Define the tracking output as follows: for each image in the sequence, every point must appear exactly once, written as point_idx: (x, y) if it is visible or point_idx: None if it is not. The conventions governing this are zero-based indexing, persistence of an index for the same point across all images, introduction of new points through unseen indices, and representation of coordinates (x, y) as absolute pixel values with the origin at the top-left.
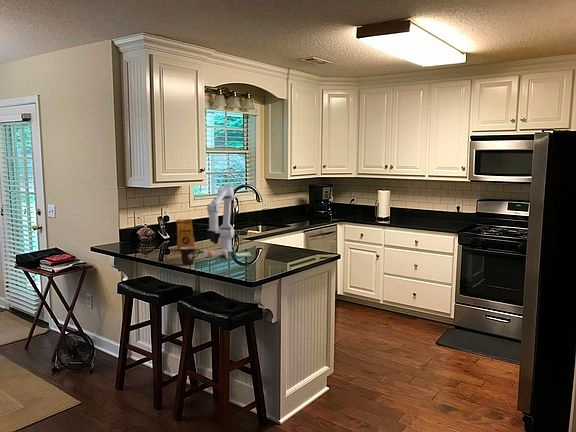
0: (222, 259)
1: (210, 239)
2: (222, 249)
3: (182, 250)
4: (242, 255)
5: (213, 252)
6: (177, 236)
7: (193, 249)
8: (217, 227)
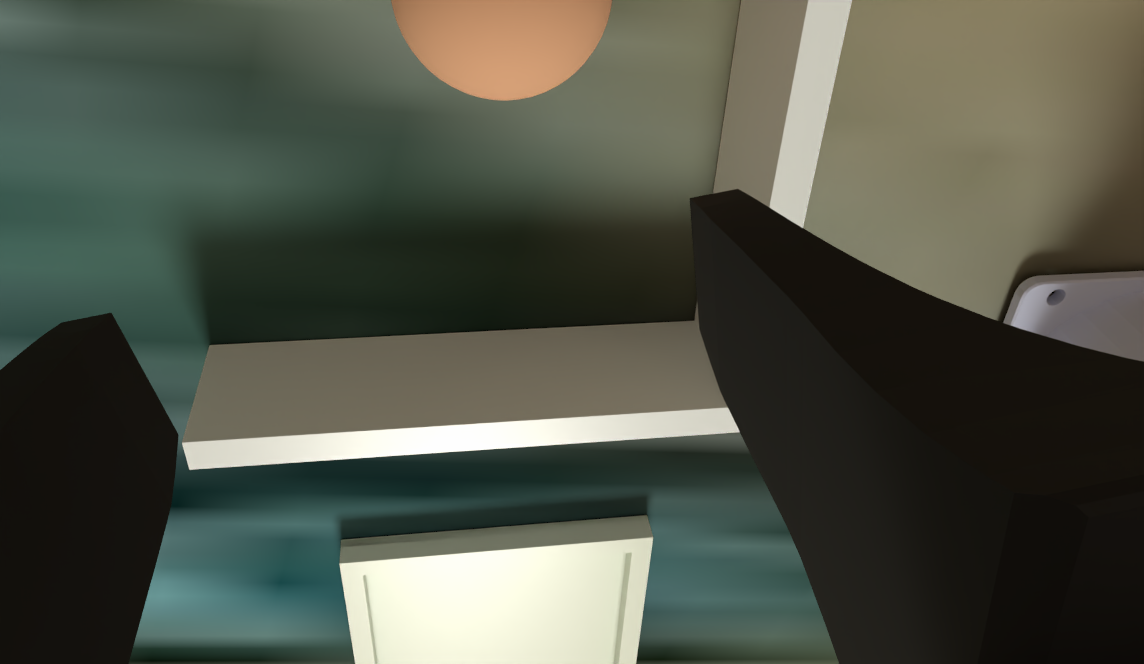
0: (49, 243)
1: (756, 240)
2: (1105, 336)
3: None
4: (351, 630)
5: (455, 84)
6: None
7: None
8: None
